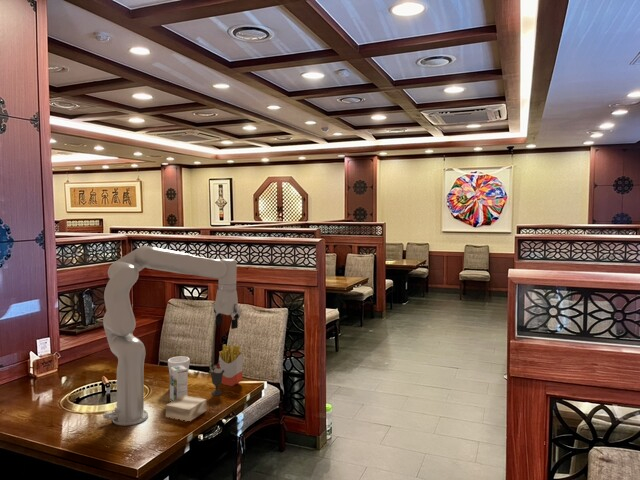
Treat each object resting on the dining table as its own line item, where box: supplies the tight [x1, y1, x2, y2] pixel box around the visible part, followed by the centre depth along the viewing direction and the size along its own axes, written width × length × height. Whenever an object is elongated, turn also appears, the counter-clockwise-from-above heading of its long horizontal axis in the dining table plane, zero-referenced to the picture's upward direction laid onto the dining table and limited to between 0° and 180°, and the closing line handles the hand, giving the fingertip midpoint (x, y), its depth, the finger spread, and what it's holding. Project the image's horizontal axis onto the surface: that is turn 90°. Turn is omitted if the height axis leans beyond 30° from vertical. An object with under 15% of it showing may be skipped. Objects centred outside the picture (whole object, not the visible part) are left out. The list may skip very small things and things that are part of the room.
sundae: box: [208, 360, 225, 396], centre depth 206 cm, size 7×7×15 cm
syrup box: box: [169, 366, 189, 402], centre depth 196 cm, size 6×6×14 cm
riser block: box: [165, 394, 207, 422], centre depth 185 cm, size 11×11×5 cm
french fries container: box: [218, 343, 244, 387], centre depth 217 cm, size 5×11×18 cm, turn 63°
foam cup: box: [167, 355, 191, 374], centre depth 211 cm, size 10×9×13 cm
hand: (226, 326), depth 204 cm, fingers open, 9 cm apart
